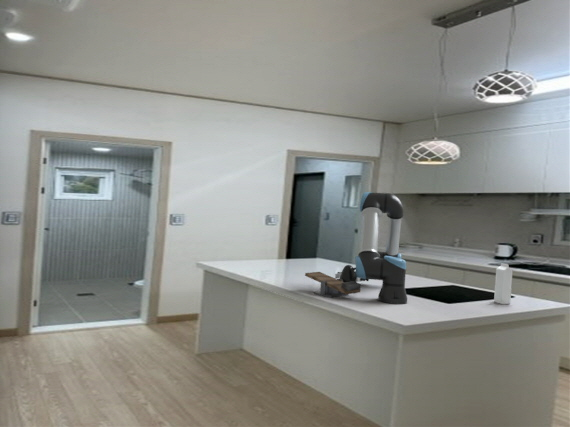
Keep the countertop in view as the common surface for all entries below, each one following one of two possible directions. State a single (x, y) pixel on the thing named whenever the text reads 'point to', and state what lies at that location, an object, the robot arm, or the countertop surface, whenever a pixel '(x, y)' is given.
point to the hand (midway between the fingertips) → (346, 277)
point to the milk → (503, 284)
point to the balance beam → (335, 283)
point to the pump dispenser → (348, 274)
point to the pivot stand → (329, 291)
